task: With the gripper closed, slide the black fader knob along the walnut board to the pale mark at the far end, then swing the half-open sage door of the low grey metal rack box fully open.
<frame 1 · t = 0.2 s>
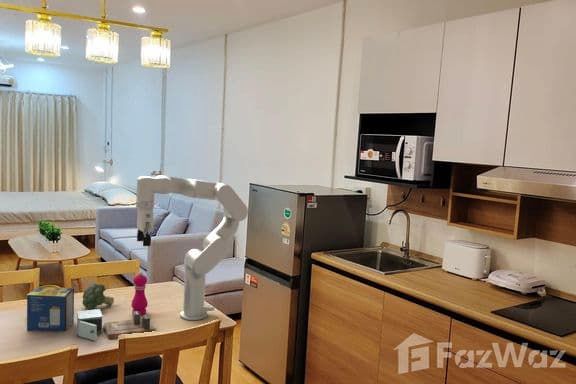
hand: (143, 243, 207), 36 cm above the table, tool pointing down, fingers open, 9 cm apart
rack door: (85, 330, 190), point 3 cm above the table, hinge at 50.0°
rack box: (89, 329, 199), on the table
fader board: (129, 330, 202), on the table
vegetable: (97, 307, 225), on the table
plant pot: (47, 309, 219), on the table
protein box: (50, 327, 200), on the table
fader knob: (136, 317, 204), point 4 cm above the table, slide at 0.0 cm
pepper mill: (139, 313, 221), on the table
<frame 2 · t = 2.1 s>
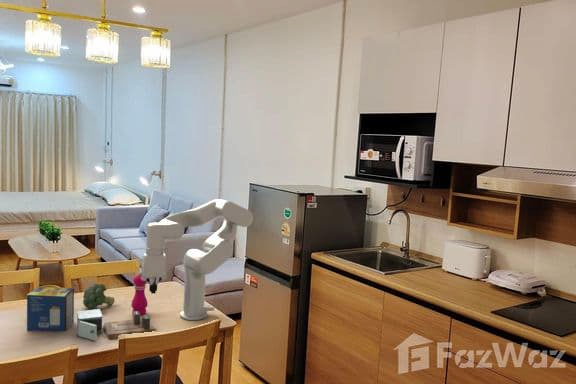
hand: (153, 292, 206), 15 cm above the table, tool pointing down, fingers closed
nothing on the table moved.
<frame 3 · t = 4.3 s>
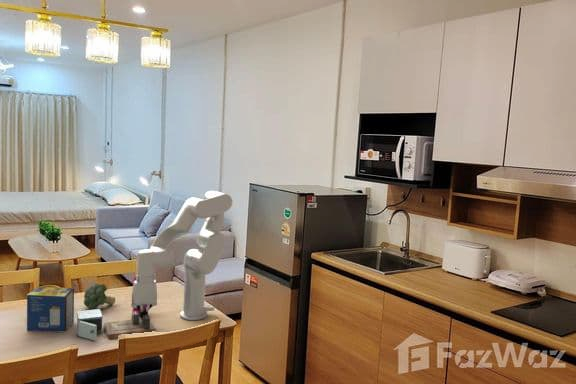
hand: (143, 319, 206), 3 cm above the table, tool pointing down, fingers closed
fader knob: (135, 317, 204), point 4 cm above the table, slide at 0.5 cm, touching gripper
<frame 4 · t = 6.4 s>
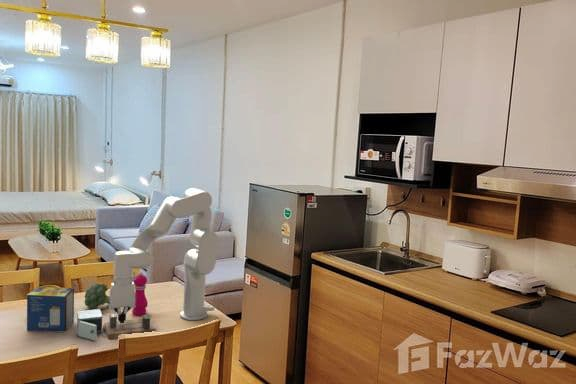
hand: (121, 322, 202), 3 cm above the table, tool pointing down, fingers closed
fader knob: (113, 320, 200), point 4 cm above the table, slide at 9.6 cm, touching gripper
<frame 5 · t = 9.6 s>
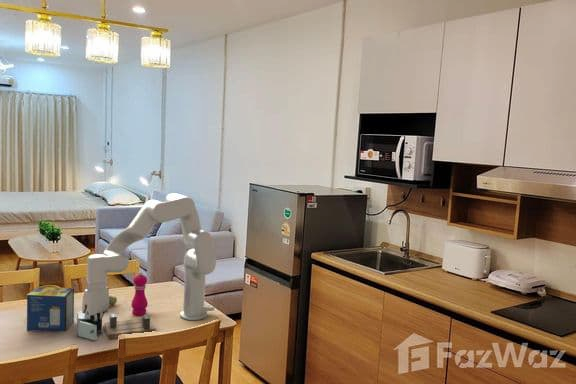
hand: (96, 328, 192), 4 cm above the table, tool pointing down, fingers closed
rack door: (85, 330, 190), point 3 cm above the table, hinge at 50.0°, touching gripper
fader knob: (113, 320, 200), point 4 cm above the table, slide at 9.6 cm
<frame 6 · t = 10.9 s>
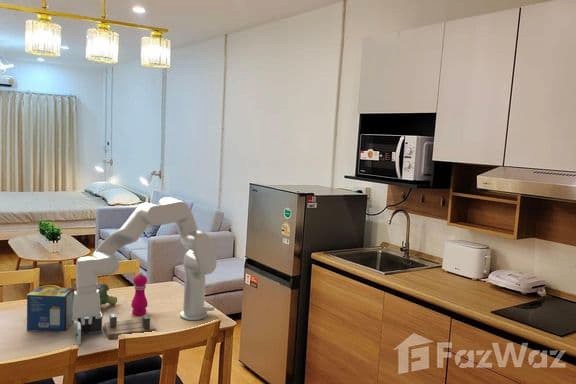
hand: (86, 332, 188), 4 cm above the table, tool pointing down, fingers closed
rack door: (77, 332, 188), point 3 cm above the table, hinge at 91.9°, touching gripper
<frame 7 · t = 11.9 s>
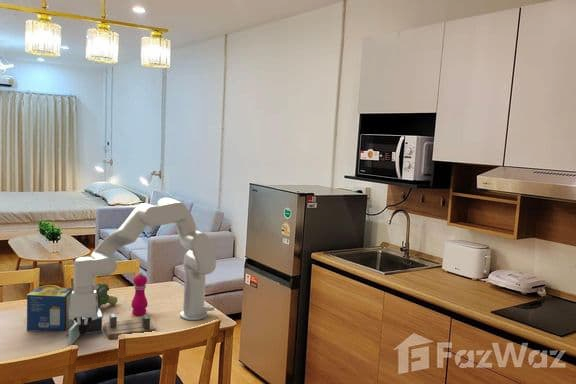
hand: (83, 333, 188), 3 cm above the table, tool pointing down, fingers closed
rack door: (73, 332, 188), point 3 cm above the table, hinge at 113.7°
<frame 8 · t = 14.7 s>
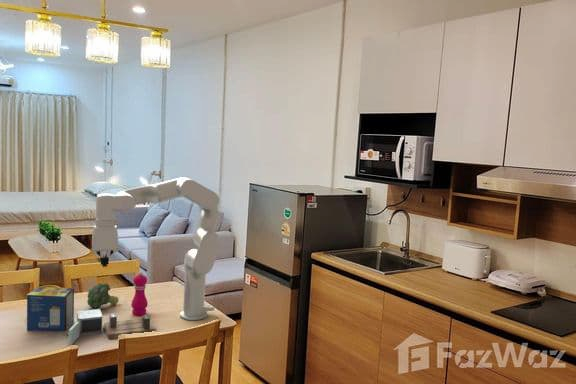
hand: (104, 266, 199), 27 cm above the table, tool pointing down, fingers closed
at the end: fader knob slide at 9.6 cm; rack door at +114° (first picture: +50°); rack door touching nothing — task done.
